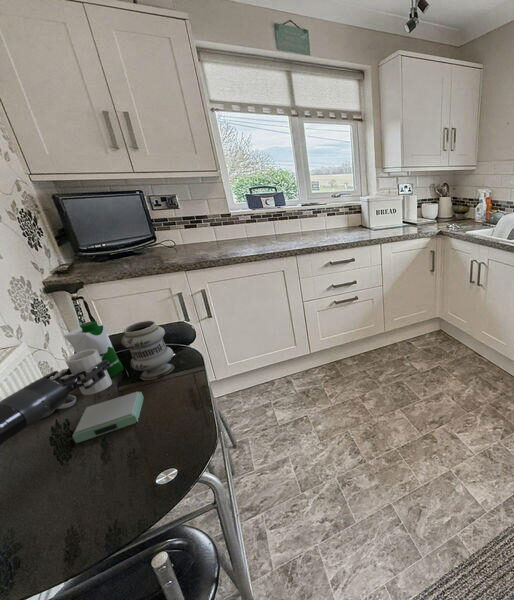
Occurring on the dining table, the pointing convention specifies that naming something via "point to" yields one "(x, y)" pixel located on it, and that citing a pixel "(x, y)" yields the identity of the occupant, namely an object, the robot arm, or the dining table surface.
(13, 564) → the dining table surface
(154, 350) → the apothecary jar
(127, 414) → the kitchen scale
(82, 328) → the milk carton
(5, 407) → the robot arm
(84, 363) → the white cup
